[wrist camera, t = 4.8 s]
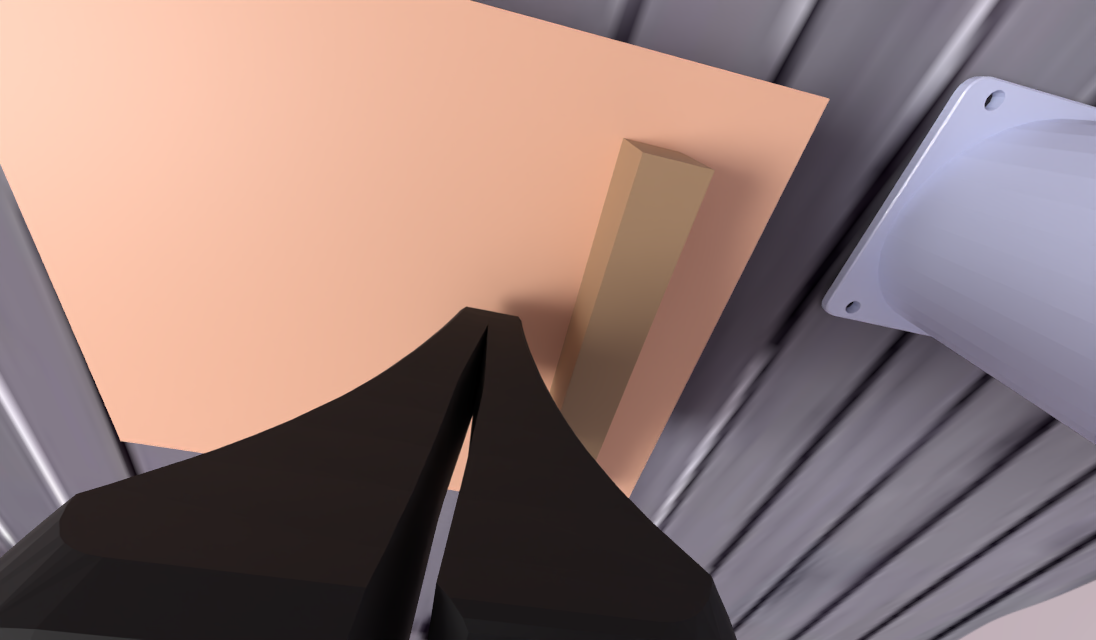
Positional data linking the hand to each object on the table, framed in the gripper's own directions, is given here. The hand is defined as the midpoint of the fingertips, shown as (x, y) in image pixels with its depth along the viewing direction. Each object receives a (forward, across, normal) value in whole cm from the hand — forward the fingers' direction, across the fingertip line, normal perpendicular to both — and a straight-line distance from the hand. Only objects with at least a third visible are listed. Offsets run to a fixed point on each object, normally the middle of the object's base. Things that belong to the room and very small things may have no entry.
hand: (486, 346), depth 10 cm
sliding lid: (+2, +3, 0) cm, 3 cm away
